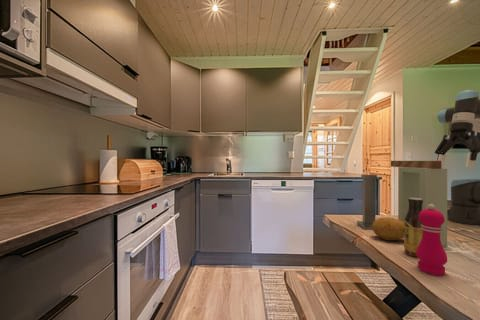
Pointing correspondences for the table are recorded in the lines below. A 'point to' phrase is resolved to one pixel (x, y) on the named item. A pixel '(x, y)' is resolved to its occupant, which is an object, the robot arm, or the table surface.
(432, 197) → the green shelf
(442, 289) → the table surface
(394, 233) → the potato
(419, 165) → the walnut bar
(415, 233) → the sauce bottle
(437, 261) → the pepper mill
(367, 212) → the ridge pillar
